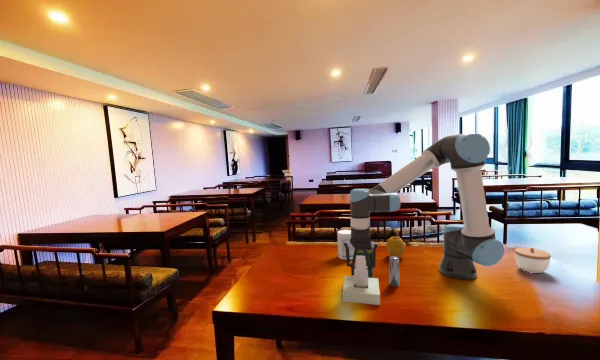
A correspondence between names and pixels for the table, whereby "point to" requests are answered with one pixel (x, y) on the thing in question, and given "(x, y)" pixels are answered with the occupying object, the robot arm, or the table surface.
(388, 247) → the apple
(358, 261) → the square bit
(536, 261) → the dishware bowl
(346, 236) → the supplement tub
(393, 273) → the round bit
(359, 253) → the coffee jar
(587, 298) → the table surface
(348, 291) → the socket block
